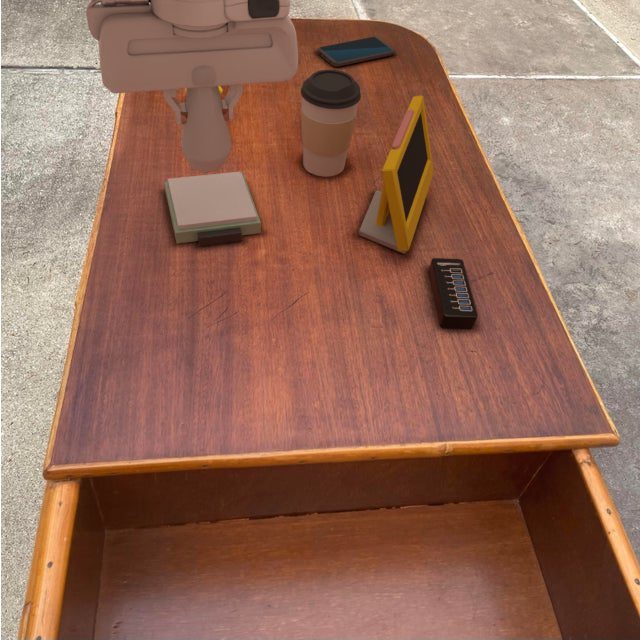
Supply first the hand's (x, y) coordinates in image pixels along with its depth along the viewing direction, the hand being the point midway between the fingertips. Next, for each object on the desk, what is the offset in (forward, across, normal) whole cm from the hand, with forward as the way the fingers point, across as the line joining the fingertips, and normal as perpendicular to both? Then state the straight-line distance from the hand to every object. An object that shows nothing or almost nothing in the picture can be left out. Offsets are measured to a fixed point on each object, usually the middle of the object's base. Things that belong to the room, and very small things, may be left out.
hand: (204, 119), depth 71 cm
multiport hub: (+22, +30, -13) cm, 39 cm away
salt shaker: (+6, 0, 0) cm, 6 cm away
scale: (+22, +1, +11) cm, 24 cm away
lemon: (+22, +5, +42) cm, 48 cm away
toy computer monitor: (+22, +28, +4) cm, 36 cm away
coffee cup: (+22, +21, +20) cm, 37 cm away
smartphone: (+22, +39, +57) cm, 73 cm away
